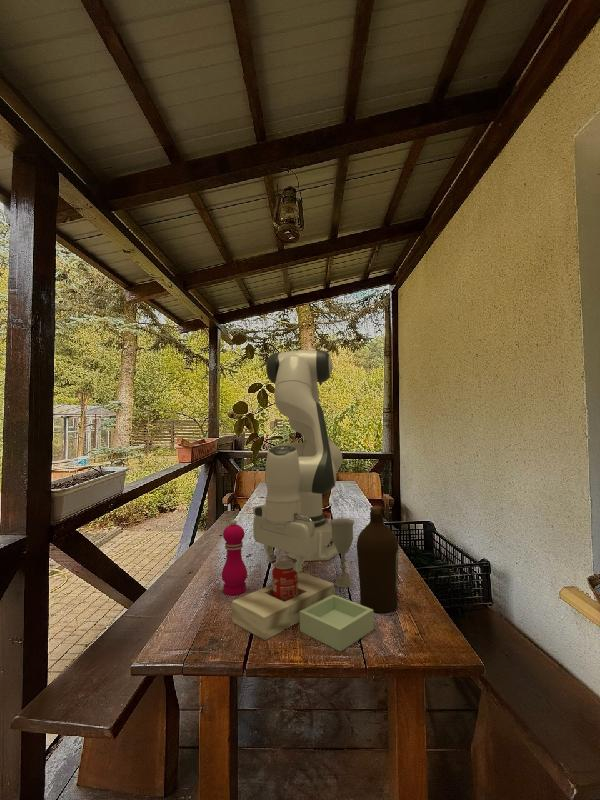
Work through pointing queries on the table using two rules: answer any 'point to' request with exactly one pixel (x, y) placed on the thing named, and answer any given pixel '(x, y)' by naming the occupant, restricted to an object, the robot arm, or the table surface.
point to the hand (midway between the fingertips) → (284, 566)
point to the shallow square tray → (336, 621)
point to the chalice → (342, 546)
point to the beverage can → (284, 581)
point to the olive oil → (378, 564)
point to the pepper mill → (234, 560)
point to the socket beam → (278, 606)
